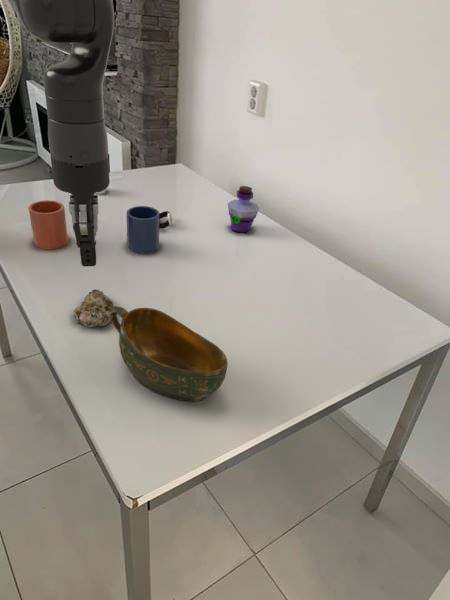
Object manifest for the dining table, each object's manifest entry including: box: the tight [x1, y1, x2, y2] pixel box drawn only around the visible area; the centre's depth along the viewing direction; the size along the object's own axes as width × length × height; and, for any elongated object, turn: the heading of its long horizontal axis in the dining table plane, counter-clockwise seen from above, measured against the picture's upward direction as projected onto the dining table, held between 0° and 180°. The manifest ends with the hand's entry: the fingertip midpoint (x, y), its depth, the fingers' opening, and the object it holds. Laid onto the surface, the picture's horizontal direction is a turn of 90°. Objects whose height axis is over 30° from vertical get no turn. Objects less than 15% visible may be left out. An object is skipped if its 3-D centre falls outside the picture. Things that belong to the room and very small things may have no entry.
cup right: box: [125, 205, 160, 255], centre depth 109 cm, size 8×8×9 cm
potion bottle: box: [227, 185, 260, 234], centre depth 122 cm, size 9×9×12 cm
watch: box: [159, 210, 173, 230], centre depth 122 cm, size 8×5×4 cm, turn 179°
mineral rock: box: [73, 288, 115, 328], centre depth 87 cm, size 11×4×8 cm
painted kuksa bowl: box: [110, 305, 228, 402], centre depth 73 cm, size 13×20×10 cm, turn 33°
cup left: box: [28, 200, 69, 250], centre depth 106 cm, size 8×8×9 cm
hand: (89, 262), depth 71 cm, fingers closed
